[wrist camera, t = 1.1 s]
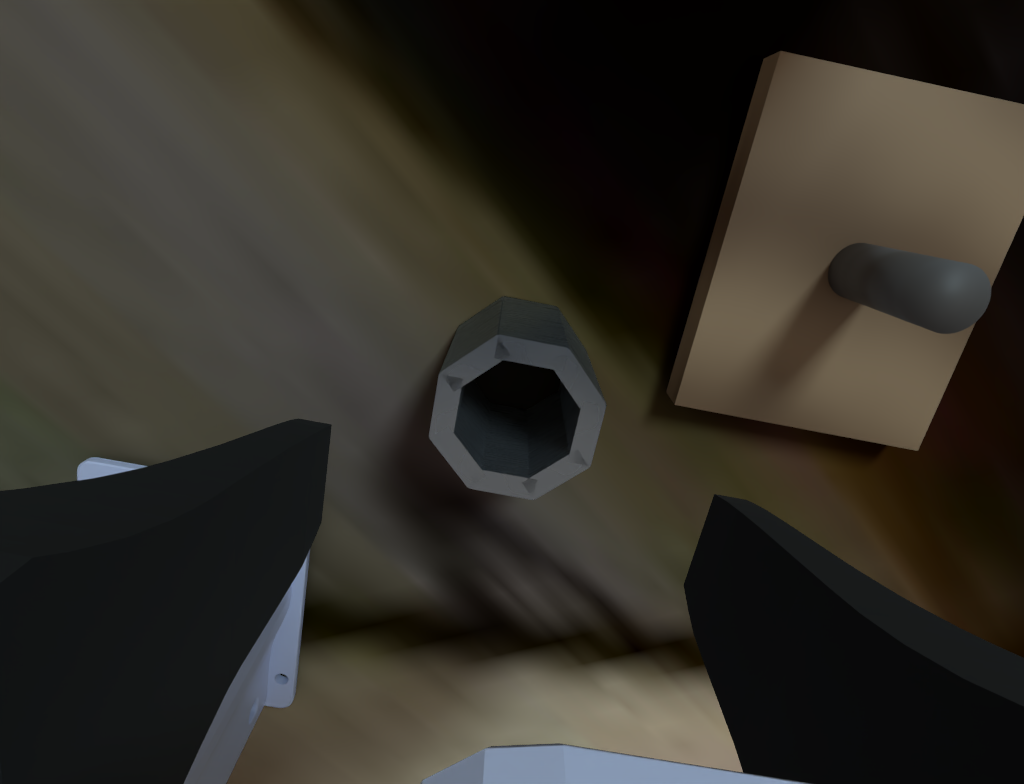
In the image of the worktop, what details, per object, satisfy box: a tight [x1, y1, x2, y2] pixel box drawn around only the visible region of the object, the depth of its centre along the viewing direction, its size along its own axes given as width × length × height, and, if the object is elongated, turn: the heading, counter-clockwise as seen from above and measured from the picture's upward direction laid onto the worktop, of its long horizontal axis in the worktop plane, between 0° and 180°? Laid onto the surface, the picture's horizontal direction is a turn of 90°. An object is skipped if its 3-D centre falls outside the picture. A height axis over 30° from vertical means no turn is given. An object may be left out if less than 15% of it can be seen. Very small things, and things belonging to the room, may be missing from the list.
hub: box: [429, 296, 606, 500], centre depth 18 cm, size 4×4×5 cm
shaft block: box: [666, 51, 1024, 451], centre depth 17 cm, size 10×8×6 cm
